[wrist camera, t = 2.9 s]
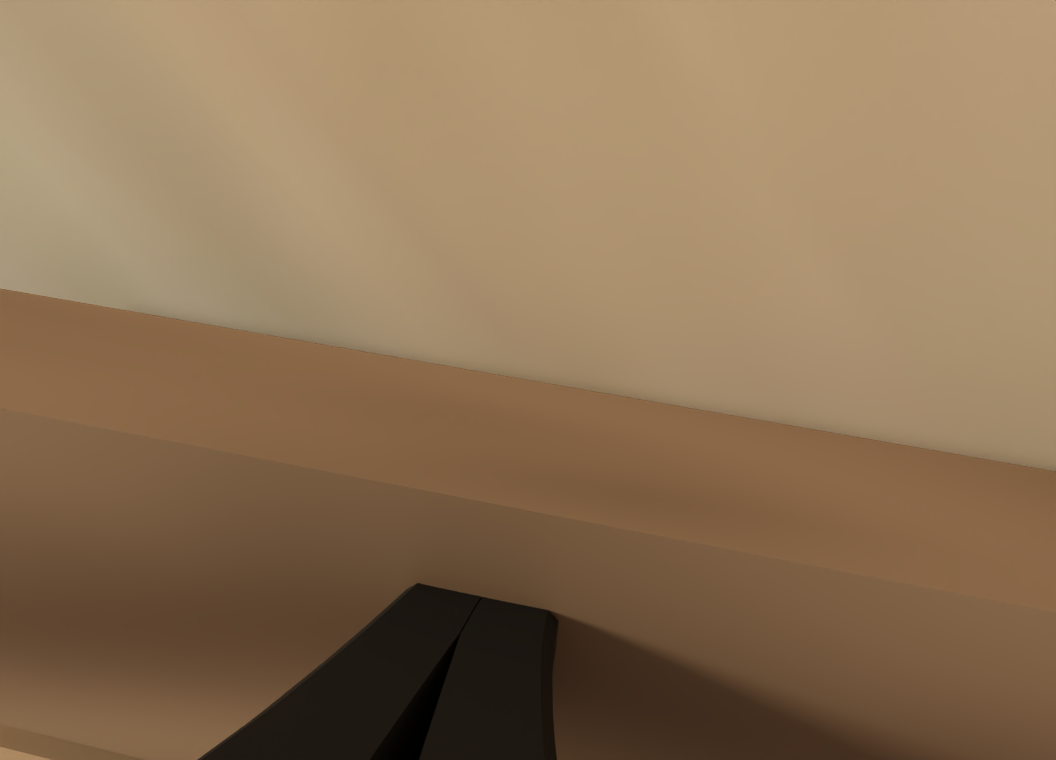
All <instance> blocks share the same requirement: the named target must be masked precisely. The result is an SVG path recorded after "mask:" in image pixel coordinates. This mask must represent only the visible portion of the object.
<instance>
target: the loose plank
mask: <svg viewBox="0 0 1056 760" xmlns="http://www.w3.org/2000/svg"><path fill="white" fill-rule="evenodd" d="M417 583H421V584H425V585H429V586H434V587H438V588H443V589H448V590H453V591H457V592H462V593H467V594H472V595H477V596H481V599H482V597H486V598H491V599H496V600H500V601H505V602H510V603H515V604H520V605H525V606H531V607H535V608H540V609H545V610H549V611H550V613H551V614H552V615H553V616H554V617H555V618H556V619H557V620H558V621H559V623H558V633H557V643H556V652H555V659H554V666H553V673H552V687H553V720H554V735H555V746H556V755H557V760H1056V472H1055V471H1049V470H1043V469H1037V468H1032V467H1026V466H1020V465H1014V464H1009V463H1003V462H997V461H991V460H985V459H980V458H974V457H968V456H962V455H957V454H951V453H945V452H939V451H934V450H928V449H922V448H916V447H910V446H905V445H899V444H893V443H887V442H882V441H876V440H870V439H864V438H859V437H853V436H847V435H841V434H835V433H830V432H824V431H818V430H812V429H807V428H801V427H795V426H789V425H784V424H778V423H772V422H766V421H760V420H755V419H749V418H743V417H737V416H732V415H726V414H720V413H714V412H709V411H703V410H697V409H691V408H685V407H680V406H674V405H668V404H662V403H657V402H651V401H645V400H639V399H634V398H628V397H622V396H616V395H610V394H605V393H599V392H593V391H587V390H582V389H576V388H570V387H564V386H559V385H553V384H547V383H541V382H535V381H530V380H524V379H518V378H512V377H507V376H501V375H495V374H489V373H484V372H478V371H472V370H466V369H460V368H455V367H449V366H443V365H437V364H432V363H426V362H420V361H414V360H409V359H403V358H397V357H391V356H385V355H380V354H374V353H368V352H362V351H357V350H351V349H345V348H339V347H334V346H328V345H322V344H316V343H310V342H305V341H299V340H293V339H287V338H282V337H276V336H270V335H264V334H259V333H253V332H247V331H241V330H235V329H230V328H224V327H218V326H212V325H207V324H201V323H195V322H189V321H184V320H178V319H172V318H166V317H160V316H155V315H149V314H143V313H137V312H132V311H126V310H120V309H114V308H109V307H103V306H97V305H91V304H85V303H80V302H74V301H68V300H62V299H57V298H51V297H45V296H39V295H34V294H28V293H22V292H16V291H10V290H5V289H0V724H3V725H7V726H11V727H15V728H19V729H24V730H28V731H32V732H36V733H40V734H44V735H48V736H52V737H56V738H60V739H64V740H68V741H72V742H76V743H80V744H84V745H88V746H92V747H96V748H100V749H104V750H108V751H112V752H116V753H120V754H124V755H128V756H132V757H136V758H141V759H145V760H197V759H199V758H200V757H202V756H203V755H204V754H206V753H207V752H208V751H210V750H211V749H212V748H214V747H215V746H217V745H218V744H219V743H221V742H222V741H223V740H225V739H226V738H228V737H229V736H230V735H232V734H233V733H234V732H236V731H237V730H239V729H240V728H241V727H243V726H244V725H245V724H247V723H248V722H249V721H251V720H252V719H253V718H254V717H256V716H257V715H258V714H260V713H261V712H262V711H263V710H265V709H266V708H267V707H269V706H270V705H271V704H272V703H273V702H275V701H276V700H277V699H278V698H280V697H281V696H282V695H283V694H285V693H286V692H287V691H288V690H290V689H291V688H292V687H293V686H294V685H296V684H297V683H298V682H299V681H301V680H302V679H303V678H304V677H306V676H307V675H308V674H309V673H311V672H312V671H313V670H314V669H316V668H317V667H318V666H319V665H320V664H322V663H323V662H324V661H325V660H327V659H328V658H329V657H330V656H331V655H332V654H334V653H335V652H336V651H337V650H338V649H339V648H341V647H342V646H343V645H344V644H345V643H346V642H348V641H349V640H350V639H351V638H352V637H353V636H355V635H356V634H357V633H358V632H359V631H360V630H362V629H363V628H364V627H365V626H366V625H367V624H368V623H370V622H371V621H372V620H373V619H374V618H375V617H376V616H377V615H379V614H380V613H381V612H382V611H383V610H384V609H385V608H386V607H387V606H389V605H390V604H391V603H392V602H393V601H394V600H395V599H396V598H397V597H399V596H400V595H401V594H402V593H403V592H404V591H405V590H406V589H408V588H409V587H411V586H413V585H415V584H417Z"/></svg>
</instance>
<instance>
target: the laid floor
mask: <svg viewBox="0 0 1056 760" xmlns="http://www.w3.org/2000/svg"><path fill="white" fill-rule="evenodd" d="M0 760H145V759H141V758H136V757H132V756H128V755H124V754H120V753H116V752H112V751H108V750H104V749H100V748H96V747H92V746H88V745H84V744H80V743H76V742H72V741H68V740H64V739H60V738H56V737H52V736H48V735H44V734H40V733H36V732H32V731H28V730H24V729H19V728H15V727H11V726H7V725H3V724H0Z"/></svg>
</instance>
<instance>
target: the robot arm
mask: <svg viewBox="0 0 1056 760" xmlns="http://www.w3.org/2000/svg"><path fill="white" fill-rule="evenodd" d="M558 623H559V621H558V620H557V619H556V618H555V617H554V616H553V615H552V614H551V613H550V611H549V610H545V609H540V608H535V607H531V606H525V605H520V604H515V603H510V602H505V601H500V600H496V599H491V598H486V597H482V599H481V596H477V595H472V594H467V593H462V592H457V591H453V590H448V589H443V588H438V587H434V586H429V585H425V584H421V583H417V584H415V585H413V586H411V587H409V588H408V589H406V590H405V591H404V592H403V593H402V594H401V595H400V596H399V597H397V598H396V599H395V600H394V601H393V602H392V603H391V604H390V605H389V606H387V607H386V608H385V609H384V610H383V611H382V612H381V613H380V614H379V615H377V616H376V617H375V618H374V619H373V620H372V621H371V622H370V623H368V624H367V625H366V626H365V627H364V628H363V629H362V630H360V631H359V632H358V633H357V634H356V635H355V636H353V637H352V638H351V639H350V640H349V641H348V642H346V643H345V644H344V645H343V646H342V647H341V648H339V649H338V650H337V651H336V652H335V653H334V654H332V655H331V656H330V657H329V658H328V659H327V660H325V661H324V662H323V663H322V664H320V665H319V666H318V667H317V668H316V669H314V670H313V671H312V672H311V673H309V674H308V675H307V676H306V677H304V678H303V679H302V680H301V681H299V682H298V683H297V684H296V685H294V686H293V687H292V688H291V689H290V690H288V691H287V692H286V693H285V694H283V695H282V696H281V697H280V698H278V699H277V700H276V701H275V702H273V703H272V704H271V705H270V706H269V707H267V708H266V709H265V710H263V711H262V712H261V713H260V714H258V715H257V716H256V717H254V718H253V719H252V720H251V721H249V722H248V723H247V724H245V725H244V726H243V727H241V728H240V729H239V730H237V731H236V732H234V733H233V734H232V735H230V736H229V737H228V738H226V739H225V740H223V741H222V742H221V743H219V744H218V745H217V746H215V747H214V748H212V749H211V750H210V751H208V752H207V753H206V754H204V755H203V756H202V757H200V758H199V759H197V760H557V755H556V746H555V735H554V720H553V687H552V673H553V666H554V659H555V652H556V643H557V633H558Z"/></svg>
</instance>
